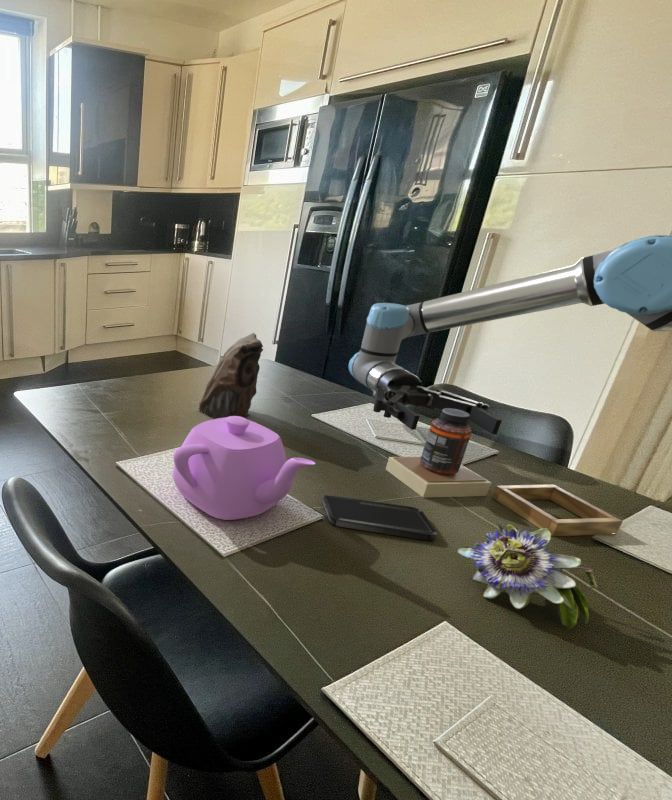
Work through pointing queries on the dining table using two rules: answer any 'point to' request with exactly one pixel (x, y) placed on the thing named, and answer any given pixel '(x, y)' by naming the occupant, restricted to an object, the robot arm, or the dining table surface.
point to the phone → (378, 517)
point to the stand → (437, 479)
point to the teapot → (234, 468)
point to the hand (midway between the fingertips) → (456, 425)
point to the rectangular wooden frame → (592, 516)
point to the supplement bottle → (446, 442)
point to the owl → (233, 380)
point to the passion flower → (528, 571)
